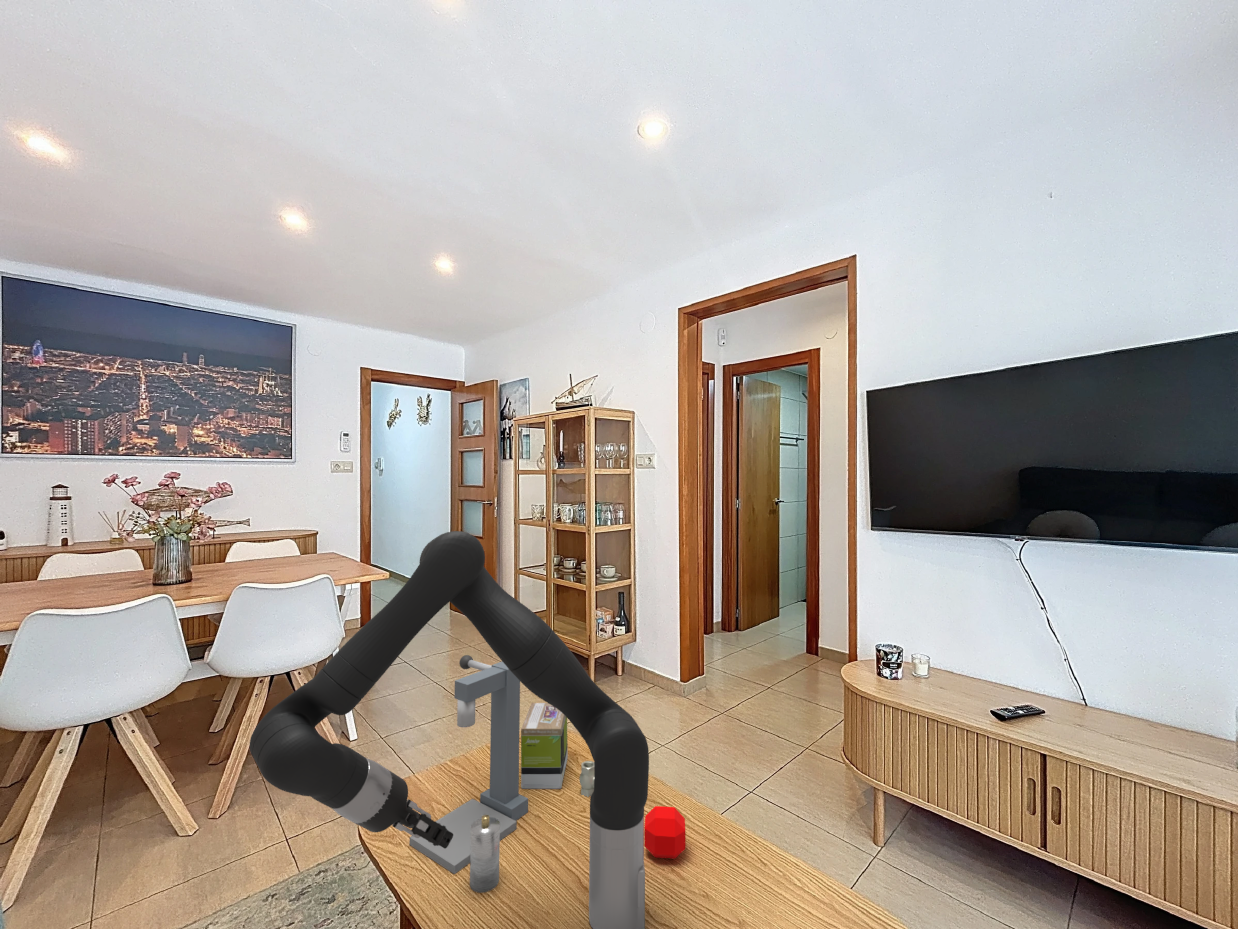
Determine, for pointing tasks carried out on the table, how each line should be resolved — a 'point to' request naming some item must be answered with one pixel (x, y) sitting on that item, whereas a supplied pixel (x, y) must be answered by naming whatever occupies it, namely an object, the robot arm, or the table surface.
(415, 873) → the table surface
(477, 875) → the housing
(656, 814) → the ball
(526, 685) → the robot arm
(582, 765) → the valve
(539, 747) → the tea box
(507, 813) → the press
